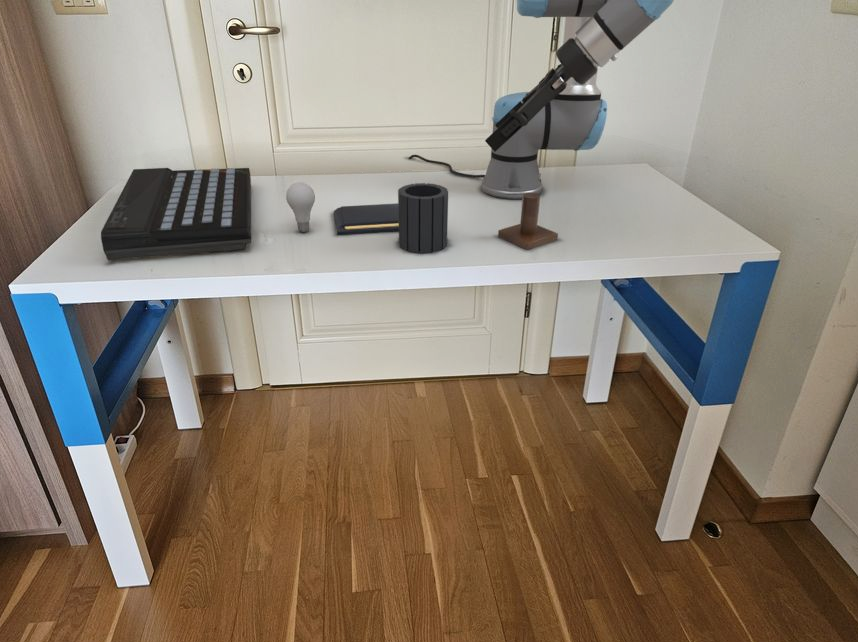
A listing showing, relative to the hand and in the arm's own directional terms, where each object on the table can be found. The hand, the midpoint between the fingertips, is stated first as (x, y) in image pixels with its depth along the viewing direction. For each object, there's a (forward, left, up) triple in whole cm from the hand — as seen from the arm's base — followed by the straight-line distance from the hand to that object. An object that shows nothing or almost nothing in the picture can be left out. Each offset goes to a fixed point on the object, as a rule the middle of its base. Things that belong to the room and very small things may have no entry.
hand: (494, 137), depth 123 cm
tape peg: (+1, +11, -23) cm, 25 cm away
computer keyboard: (-53, -44, -23) cm, 73 cm away
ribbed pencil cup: (-10, -9, -23) cm, 27 cm away
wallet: (-27, -9, -23) cm, 37 cm away
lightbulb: (-31, -26, -23) cm, 47 cm away
